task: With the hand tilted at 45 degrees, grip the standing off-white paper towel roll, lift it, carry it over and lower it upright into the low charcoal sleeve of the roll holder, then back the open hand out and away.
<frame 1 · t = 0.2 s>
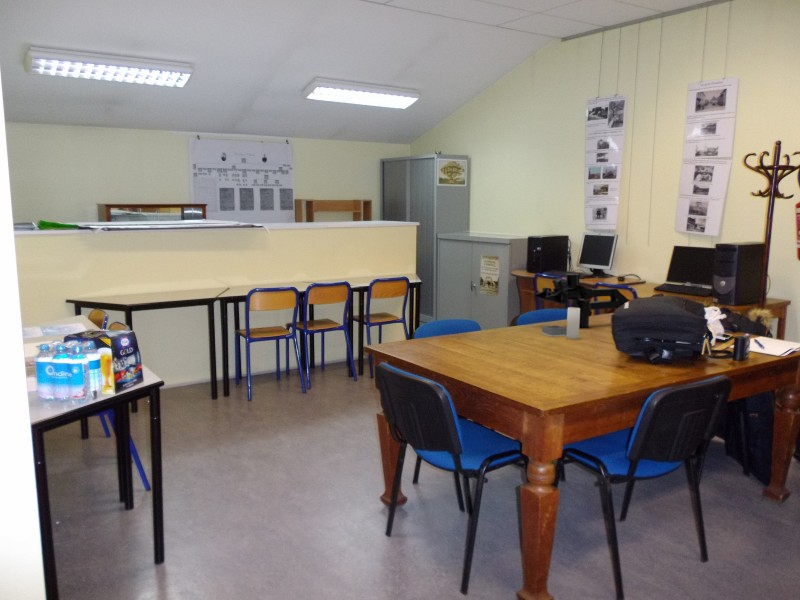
hand: (540, 296, 328), 16 cm above the table, fingers open, 9 cm apart
paper towel roll: (572, 337, 310), on the table
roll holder: (554, 334, 317), on the table
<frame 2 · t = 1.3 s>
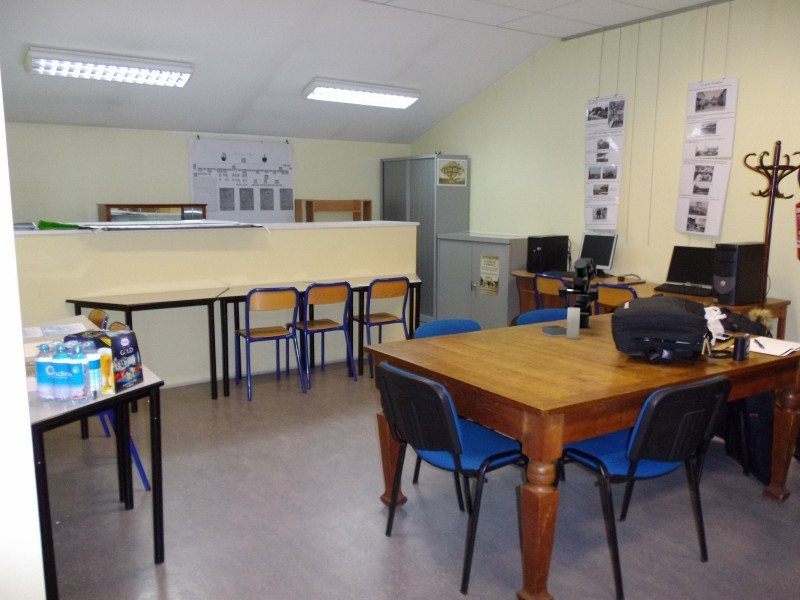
hand: (576, 306, 315), 14 cm above the table, fingers open, 9 cm apart
nothing on the table moved.
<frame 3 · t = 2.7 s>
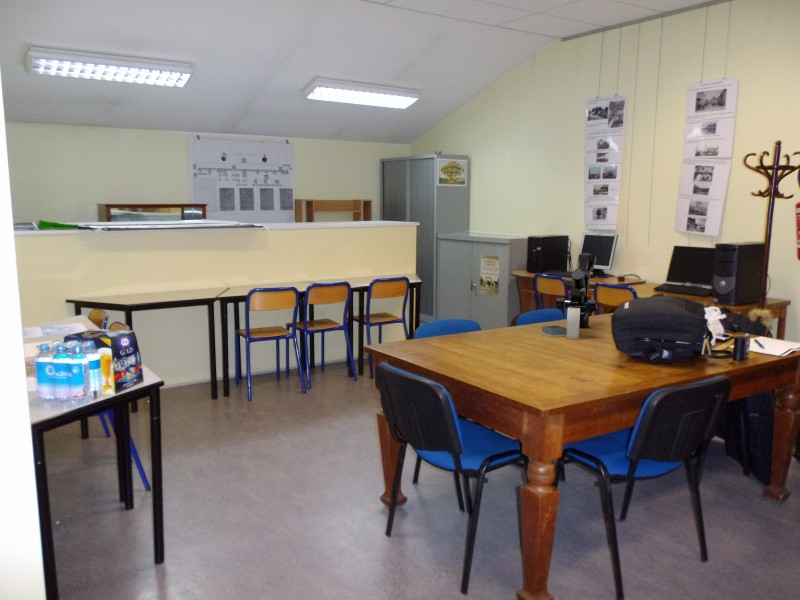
hand: (573, 318, 309), 9 cm above the table, fingers open, 9 cm apart
nothing on the table moved.
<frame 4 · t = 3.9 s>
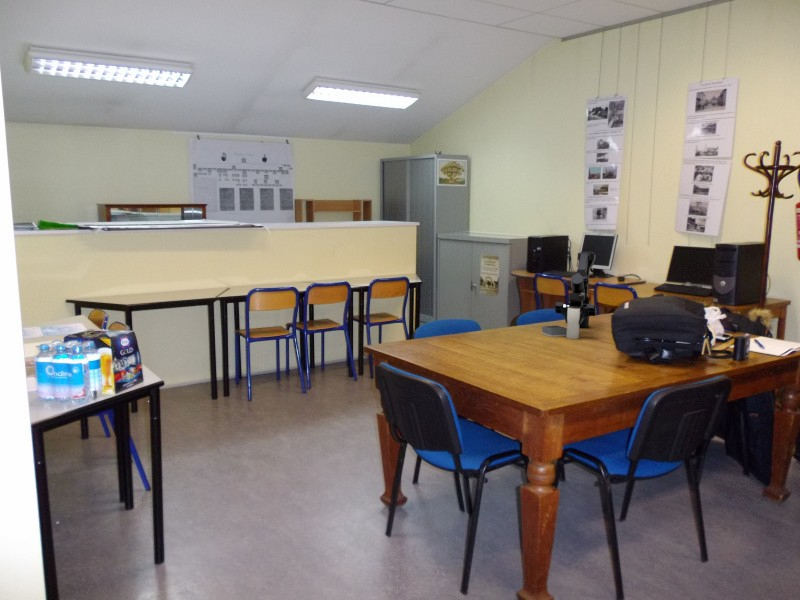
hand: (572, 323, 307), 7 cm above the table, fingers closed on paper towel roll, 6 cm apart
paper towel roll: (572, 337, 310), on the table, touching gripper
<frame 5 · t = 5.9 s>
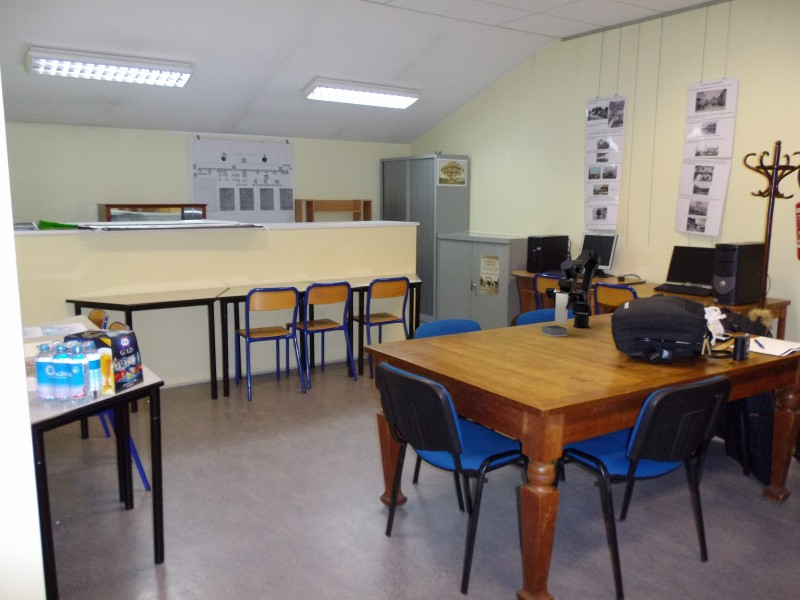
hand: (560, 308, 311), 13 cm above the table, fingers closed on paper towel roll, 6 cm apart
paper towel roll: (560, 322, 313), point 6 cm above the table, touching gripper
when the fingers open (9 cm above the table, at t = 7.8 s): paper towel roll drops 1 cm, resting on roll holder.
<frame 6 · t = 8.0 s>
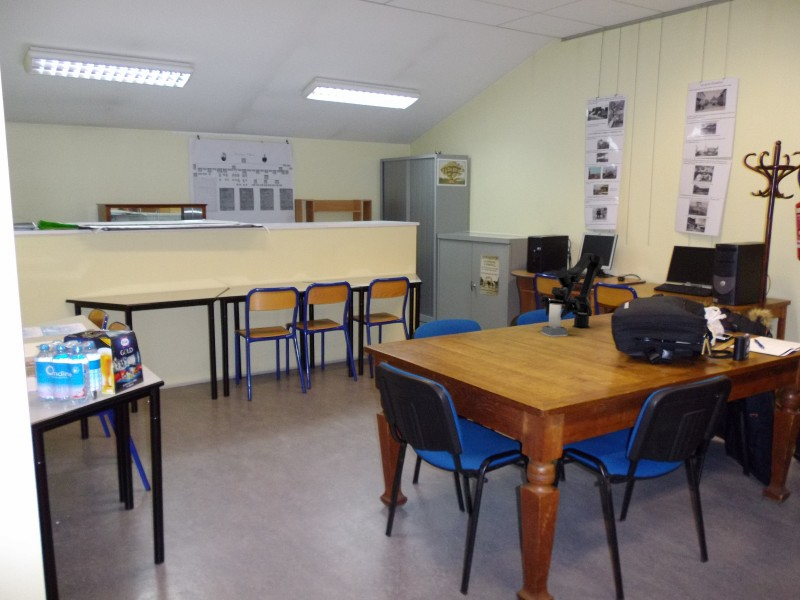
hand: (553, 316, 315), 9 cm above the table, fingers open, 7 cm apart
paper towel roll: (554, 333, 317), point 1 cm above the table, touching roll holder
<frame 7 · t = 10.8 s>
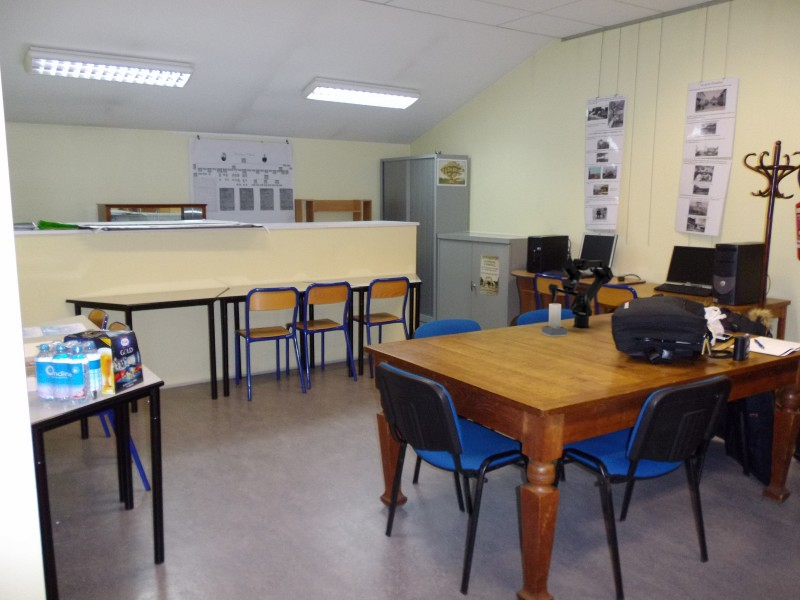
hand: (561, 307, 324), 12 cm above the table, fingers open, 9 cm apart
nothing on the table moved.
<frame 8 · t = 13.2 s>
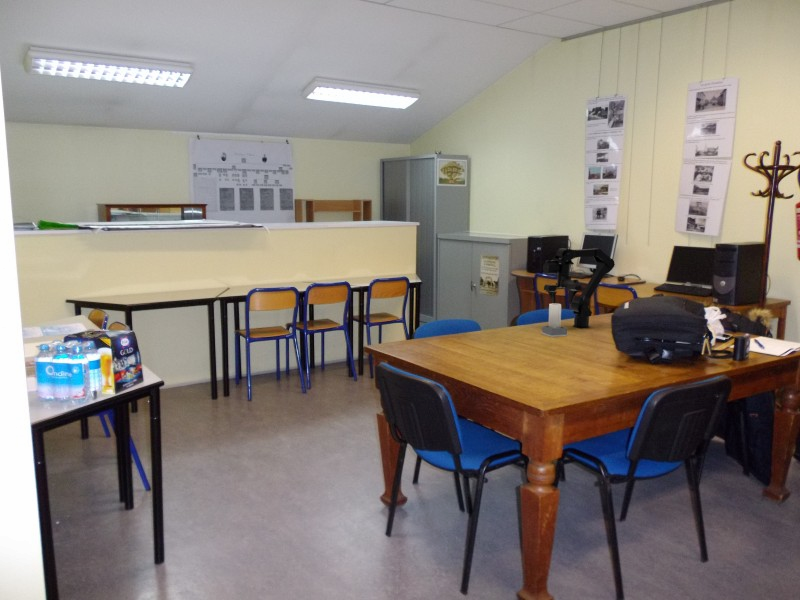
hand: (562, 304, 334), 12 cm above the table, fingers open, 9 cm apart
nothing on the table moved.
at the end: paper towel roll 0.0 cm off-centre on the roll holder, point 0.6 cm above the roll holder's base; paper towel roll tilted 1°; the gripper is holding nothing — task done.
